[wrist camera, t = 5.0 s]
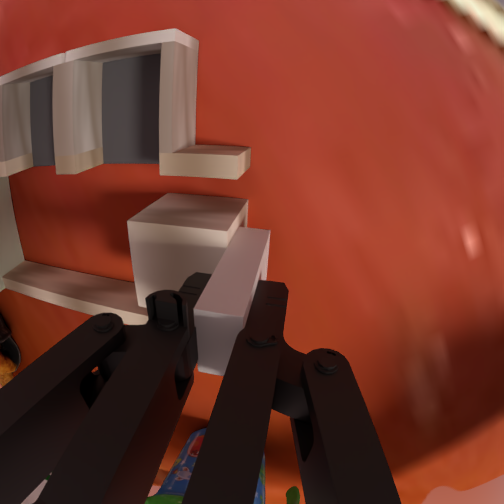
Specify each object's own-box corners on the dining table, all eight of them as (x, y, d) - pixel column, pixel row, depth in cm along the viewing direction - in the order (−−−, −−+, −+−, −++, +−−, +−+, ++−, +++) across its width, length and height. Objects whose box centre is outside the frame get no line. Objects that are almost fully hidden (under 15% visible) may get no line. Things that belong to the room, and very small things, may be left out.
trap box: (256, 39, 13) (232, 9, 8) (243, 313, 19) (224, 371, 15) (-3, 88, 15) (-53, 96, 11) (21, 268, 22) (-17, 298, 18)
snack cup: (325, 445, 25) (317, 541, 16) (274, 478, 30) (260, 551, 21) (167, 386, 24) (119, 484, 15) (147, 431, 29) (113, 504, 20)
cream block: (248, 199, 16) (227, 231, 12) (244, 274, 18) (225, 322, 14) (168, 192, 17) (127, 220, 13) (172, 264, 19) (138, 306, 15)
